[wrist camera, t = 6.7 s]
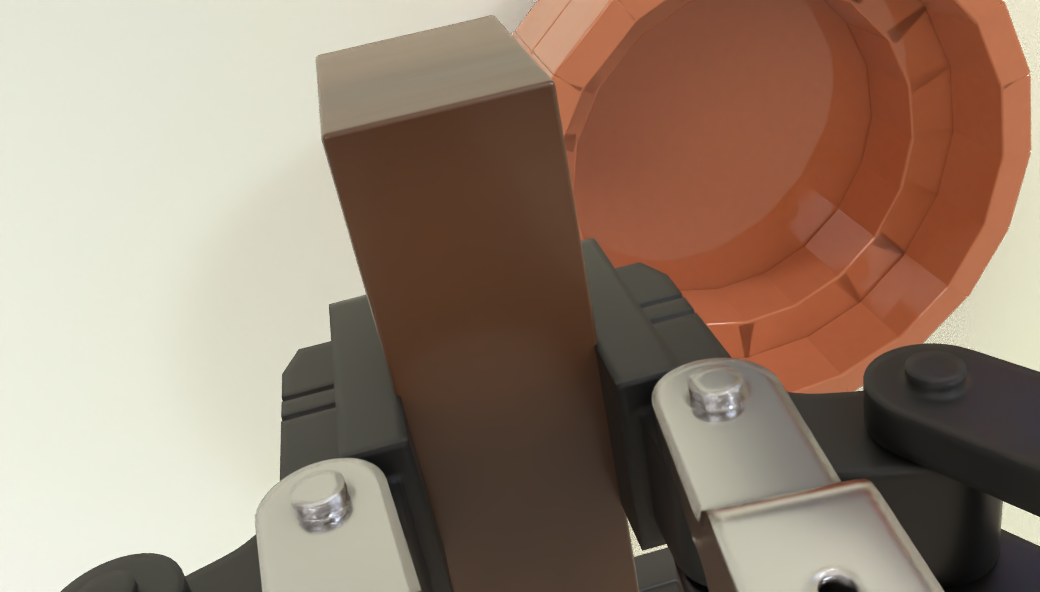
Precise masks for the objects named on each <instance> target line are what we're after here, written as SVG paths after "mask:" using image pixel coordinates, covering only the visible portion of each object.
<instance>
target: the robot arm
mask: <svg viewBox="0 0 1040 592" xmlns="http://www.w3.org/2000/svg"><path fill="white" fill-rule="evenodd" d="M581 243H582V249H583V255H584V261H585V267H586V273H587V279H588V285H589V291H590V297H591V303H592V309H593V315H594V321H595V327H596V333H597V339H598V343H597V344H596V345H595V351H596V357H597V363H598V369H599V375H600V381H601V387H602V393H603V399H604V405H605V411H606V417H607V423H608V429H609V435H610V441H611V446H612V452H613V458H614V464H615V470H616V476H617V482H618V488H619V494H620V500H621V505H622V507H623V509H624V511H625V514H626V516H627V518H628V520H629V522H630V525H631V527H632V529H633V531H634V533H635V535H636V538H637V540H638V542H639V544H640V546H641V549H642V551H643V550H646V549H650V548H653V547H657V546H660V545H664V544H667V546H668V548H669V550H670V552H671V554H672V556H673V558H674V564H675V572H676V579H677V586H678V591H679V592H1040V546H1038V545H1036V544H1034V543H1031V542H1029V541H1027V540H1025V539H1022V538H1020V537H1018V536H1016V535H1014V534H1011V533H1009V532H1007V531H1005V530H1003V529H1001V518H1002V504H1003V501H1004V502H1007V503H1009V504H1011V505H1014V506H1016V507H1018V508H1020V509H1023V510H1025V511H1027V512H1030V513H1032V514H1034V515H1037V516H1039V517H1040V372H1038V371H1035V370H1032V369H1029V368H1026V367H1023V366H1020V365H1017V364H1013V363H1010V362H1007V361H1004V360H1001V359H998V358H995V357H992V356H989V355H986V354H983V353H980V352H977V351H974V350H970V349H967V348H963V347H959V346H953V345H947V344H915V345H908V346H903V347H899V348H896V349H893V350H890V351H888V352H885V353H883V354H881V355H880V356H878V357H877V358H875V359H874V360H873V361H872V362H871V363H870V364H869V365H868V367H867V368H866V370H865V372H864V376H863V391H854V392H838V393H820V394H805V393H793V392H787V391H786V390H785V388H784V386H783V385H782V383H781V382H780V380H779V379H778V378H777V376H776V375H775V374H774V373H773V372H771V371H770V370H769V369H767V368H765V367H763V366H762V365H759V364H757V363H754V362H751V361H747V360H743V359H736V358H732V357H731V356H730V355H729V353H728V352H727V351H726V350H725V348H724V347H723V346H722V344H721V343H720V342H719V341H718V339H717V338H716V337H715V335H714V334H713V333H712V332H711V330H710V329H709V328H708V326H707V325H706V324H705V323H704V321H703V320H702V319H701V317H700V316H699V315H698V314H697V313H695V312H694V308H693V307H692V306H691V304H690V303H689V302H688V301H687V299H686V298H685V297H683V296H682V293H681V292H680V290H679V289H678V288H677V286H676V285H675V284H674V283H673V281H672V280H671V279H670V277H669V276H668V275H667V274H665V273H663V272H661V271H658V270H656V269H654V268H652V267H650V266H647V265H645V264H643V263H641V262H638V263H634V264H630V265H627V266H623V267H619V268H614V266H613V265H612V263H611V262H610V260H609V259H608V257H607V256H606V254H605V253H604V252H603V250H602V249H601V247H600V246H599V244H598V243H597V241H596V240H595V239H594V238H589V239H586V240H582V241H581ZM329 313H330V328H331V341H330V342H326V343H322V344H318V345H314V346H310V347H307V348H303V349H299V350H298V351H297V353H296V354H295V356H294V357H293V359H292V360H291V362H290V363H289V365H288V366H287V368H286V369H285V371H284V372H283V374H282V400H283V402H282V411H281V417H282V422H281V455H280V482H278V483H277V484H276V485H275V486H274V487H273V488H272V489H271V490H270V491H269V492H268V493H267V494H266V495H265V497H264V498H263V499H262V501H261V503H260V504H259V506H258V508H257V512H256V515H255V528H256V535H255V536H253V537H252V538H251V539H250V540H249V541H247V542H246V543H245V544H243V545H242V546H241V547H239V548H238V549H236V550H235V551H233V552H231V553H229V554H228V555H226V556H224V557H222V558H220V559H218V560H216V561H214V562H213V563H211V564H209V565H207V566H205V567H203V568H201V569H199V570H197V571H195V572H193V573H191V574H189V575H187V576H184V574H183V572H182V569H181V568H180V566H179V565H178V564H177V563H176V562H175V561H174V560H172V559H171V558H169V557H166V556H164V555H159V554H154V553H141V554H133V555H128V556H124V557H120V558H117V559H114V560H111V561H108V562H106V563H104V564H101V565H99V566H97V567H95V568H93V569H91V570H90V571H88V572H86V573H84V574H83V575H81V576H80V577H78V578H77V579H75V580H74V581H73V582H71V583H70V584H69V585H68V586H66V587H65V588H64V589H63V590H62V591H61V592H453V589H452V584H451V579H450V573H449V568H448V563H447V558H446V553H445V550H444V546H443V543H442V539H441V536H440V532H439V529H438V525H437V522H436V518H435V515H434V511H433V508H432V505H431V501H430V498H429V494H428V491H427V487H426V484H425V480H424V477H423V473H422V470H421V466H420V463H419V459H418V456H417V452H416V449H415V445H414V442H413V438H412V435H411V431H410V428H409V424H408V421H407V417H406V414H405V410H404V407H403V403H402V400H401V396H396V395H395V392H394V388H393V385H392V381H391V378H390V374H389V371H388V367H387V364H386V360H385V357H384V354H383V350H382V347H381V343H380V340H379V336H378V333H377V329H376V326H375V322H374V319H373V315H372V312H371V309H370V305H369V302H368V298H367V295H364V296H360V297H356V298H352V299H348V300H344V301H340V302H336V303H332V304H329Z"/></svg>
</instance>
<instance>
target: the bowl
mask: <svg viewBox="0 0 1040 592" xmlns="http://www.w3.org/2000/svg"><path fill="white" fill-rule="evenodd" d="M513 37H514V38H515V39H516V41H517V42H518V43H519V44H520V45H521V46H522V47H523V48H524V49H525V50H526V52H527V53H528V54H529V55H530V56H531V57H532V58H533V59H534V60H535V61H536V63H537V64H538V65H539V66H540V67H541V68H542V69H543V70H544V71H545V73H546V74H547V75H548V76H549V77H550V78H551V79H552V80H553V82H554V83H555V87H556V93H557V99H558V105H559V111H560V117H561V123H562V129H563V135H564V141H565V147H566V153H567V159H568V165H569V171H570V177H571V183H572V189H573V195H574V201H575V207H576V213H577V219H578V225H579V231H580V237H581V241H582V240H586V239H589V238H594V239H595V240H596V241H597V243H598V244H599V246H600V247H601V249H602V250H603V252H604V253H605V254H606V256H607V257H608V259H609V260H610V262H611V263H612V265H613V266H614V268H619V267H623V266H627V265H630V264H634V263H638V262H641V263H643V264H645V265H647V266H650V267H652V268H654V269H656V270H658V271H661V272H663V273H665V274H667V275H668V276H669V277H670V279H671V280H672V281H673V283H674V284H675V285H676V286H677V288H678V289H679V290H680V292H681V293H682V296H683V297H685V298H686V299H687V301H688V302H689V303H690V304H691V306H692V307H693V308H694V312H695V313H697V314H698V315H699V316H700V317H701V319H702V320H703V321H704V323H705V324H706V325H707V326H708V328H709V329H710V330H711V332H712V333H713V334H714V335H715V337H716V338H717V339H718V341H719V342H720V343H721V344H722V346H723V347H724V348H725V350H726V351H727V352H728V353H729V355H730V356H731V357H732V358H736V359H743V360H747V361H751V362H754V363H757V364H759V365H762V366H763V367H765V368H767V369H769V370H770V371H771V372H773V373H774V374H775V375H776V376H777V378H778V379H779V380H780V382H781V383H782V385H783V386H784V388H785V390H786V391H787V392H793V393H805V394H820V393H838V392H854V391H856V390H857V389H859V388H860V387H862V386H863V376H864V372H865V370H866V368H867V367H868V365H869V364H870V363H871V362H872V361H873V360H874V359H875V358H877V357H878V356H880V355H881V354H883V353H885V352H888V351H890V350H893V349H896V348H899V347H903V346H908V345H915V344H923V343H924V342H925V341H926V340H927V339H928V338H929V337H930V336H931V335H932V334H933V332H934V331H935V330H936V329H937V328H938V327H939V326H940V325H941V324H942V323H943V322H944V321H945V320H946V319H947V318H948V317H949V316H950V315H951V314H952V313H953V312H954V311H955V310H956V309H957V308H958V307H959V306H960V304H961V303H962V302H963V301H964V300H965V299H966V298H967V297H966V296H969V295H970V294H971V292H972V290H973V288H974V287H975V285H976V283H977V282H978V280H979V278H980V277H981V275H982V273H983V272H984V270H985V268H986V266H987V265H988V263H989V261H990V260H991V258H992V256H993V255H994V253H995V251H996V250H997V248H998V246H999V245H1000V243H1001V241H1002V239H1003V238H1004V236H1005V234H1006V233H1007V231H1008V229H1009V228H1008V227H1009V226H1010V223H1011V220H1012V216H1013V213H1014V209H1015V206H1016V203H1017V199H1018V196H1019V192H1020V189H1021V185H1022V182H1023V178H1024V175H1025V171H1026V168H1027V164H1028V161H1029V158H1030V154H1031V152H1030V151H1031V76H1030V74H1029V73H1030V70H1029V67H1028V65H1027V62H1026V59H1025V56H1024V54H1023V51H1022V48H1021V45H1020V42H1019V40H1018V37H1017V34H1016V31H1015V29H1014V26H1013V23H1012V20H1011V18H1010V15H1009V12H1008V9H1007V7H1006V4H1005V2H1004V1H1003V0H538V1H537V2H536V4H535V5H534V6H533V8H532V9H531V10H530V12H529V13H528V14H527V16H526V17H525V18H524V20H523V21H522V22H521V24H520V25H519V26H518V28H517V29H516V30H515V33H514V34H513Z"/></svg>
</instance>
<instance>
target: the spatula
mask: <svg viewBox="0 0 1040 592" xmlns="http://www.w3.org/2000/svg"><path fill="white" fill-rule="evenodd" d="M316 70H317V83H318V97H319V111H320V124H321V138H322V143H323V146H324V150H325V153H326V156H327V160H328V163H329V167H330V170H331V174H332V177H333V181H334V184H335V188H336V191H337V194H338V198H339V201H340V205H341V208H342V212H343V215H344V219H345V222H346V226H347V229H348V233H349V236H350V239H351V243H352V246H353V250H354V253H355V257H356V260H357V264H358V267H359V271H360V274H361V277H362V281H363V284H364V288H365V291H366V295H367V298H368V302H369V305H370V309H371V312H372V315H373V319H374V322H375V326H376V329H377V333H378V336H379V340H380V343H381V347H382V350H383V354H384V357H385V360H386V364H387V367H388V371H389V374H390V378H391V381H392V385H393V388H394V392H395V395H396V396H401V400H402V403H403V407H404V410H405V414H406V417H407V421H408V424H409V428H410V431H411V435H412V438H413V442H414V445H415V449H416V452H417V456H418V459H419V463H420V466H421V470H422V473H423V477H424V480H425V484H426V487H427V491H428V494H429V498H430V501H431V505H432V508H433V511H434V515H435V518H436V522H437V525H438V529H439V532H440V536H441V539H442V543H443V546H444V550H445V553H446V558H447V563H448V568H449V573H450V579H451V584H452V589H453V592H679V591H678V586H677V579H676V572H675V564H674V558H673V556H672V554H671V552H670V550H669V548H664V549H661V550H657V551H654V552H650V553H647V554H643V555H640V556H636V557H634V556H633V550H632V544H631V538H630V532H629V526H628V520H627V516H626V514H625V511H624V509H623V507H622V505H621V500H620V494H619V488H618V482H617V476H616V470H615V464H614V458H613V452H612V446H611V441H610V435H609V429H608V423H607V417H606V411H605V405H604V399H603V393H602V387H601V381H600V375H599V369H598V363H597V357H596V351H595V345H596V344H597V343H598V339H597V333H596V327H595V321H594V315H593V309H592V303H591V297H590V291H589V285H588V279H587V273H586V267H585V261H584V255H583V249H582V243H581V237H580V231H579V225H578V219H577V213H576V207H575V201H574V195H573V189H572V183H571V177H570V171H569V165H568V159H567V153H566V147H565V141H564V135H563V129H562V123H561V117H560V111H559V105H558V99H557V93H556V87H555V83H554V82H553V80H552V79H551V78H550V77H549V76H548V75H547V74H546V73H545V71H544V70H543V69H542V68H541V67H540V66H539V65H538V64H537V63H536V61H535V60H534V59H533V58H532V57H531V56H530V55H529V54H528V53H527V52H526V50H525V49H524V48H523V47H522V46H521V45H520V44H519V43H518V42H517V41H516V39H515V38H514V37H513V36H512V35H511V34H510V33H509V32H508V31H507V29H506V28H505V27H504V26H503V25H502V24H501V23H500V22H499V21H498V20H497V18H496V17H495V16H487V17H483V18H478V19H474V20H470V21H465V22H461V23H456V24H452V25H448V26H443V27H439V28H435V29H430V30H426V31H422V32H417V33H413V34H409V35H404V36H400V37H395V38H391V39H387V40H382V41H378V42H374V43H369V44H365V45H361V46H356V47H352V48H348V49H343V50H339V51H335V52H330V53H326V54H321V55H318V56H317V57H316Z"/></svg>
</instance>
